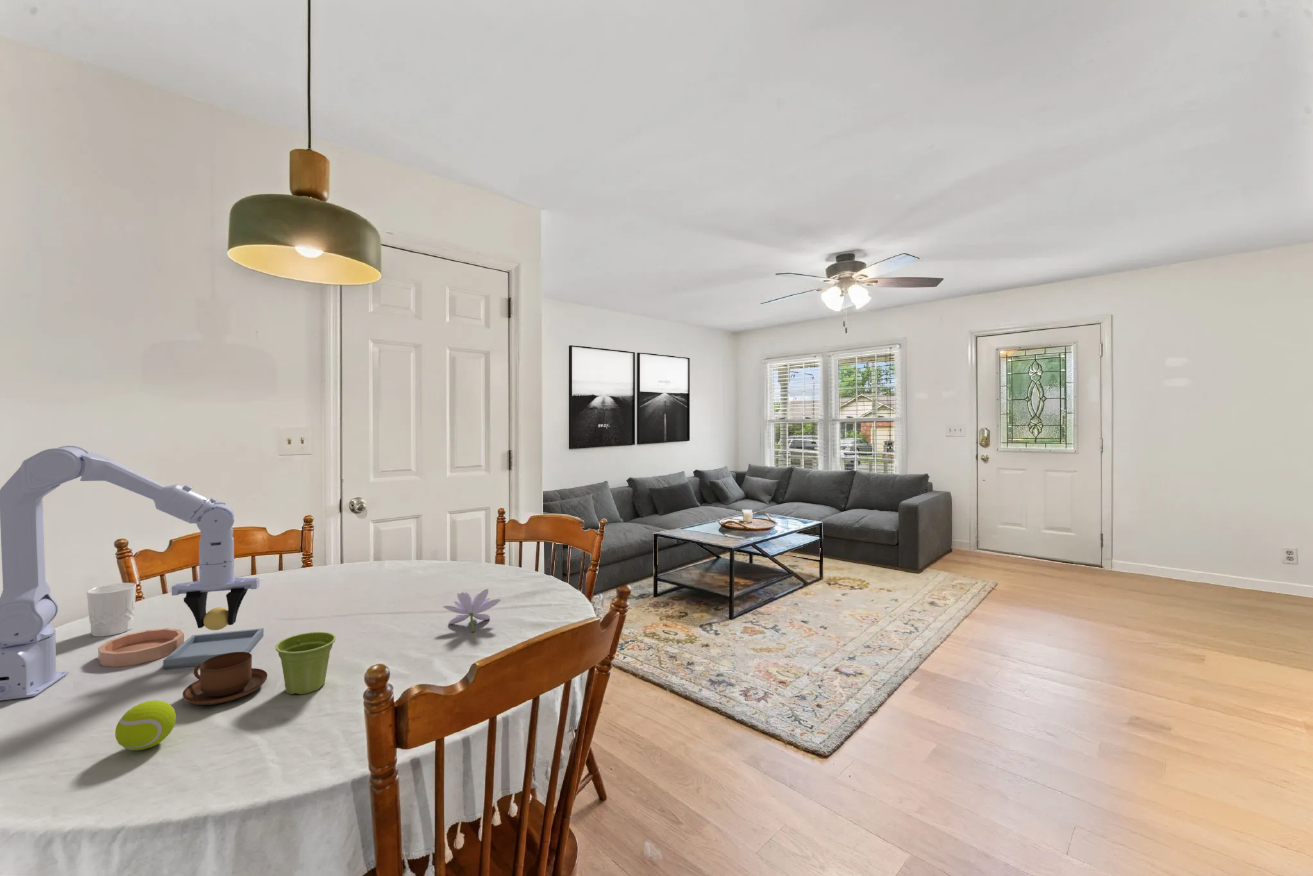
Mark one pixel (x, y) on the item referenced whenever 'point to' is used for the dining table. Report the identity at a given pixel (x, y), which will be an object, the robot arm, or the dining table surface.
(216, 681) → the cup and saucer
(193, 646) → the tray
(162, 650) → the bowl
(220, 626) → the ball
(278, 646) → the plant pot
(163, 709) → the tennis ball
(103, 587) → the white cup
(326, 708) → the dining table surface
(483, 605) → the water lily
